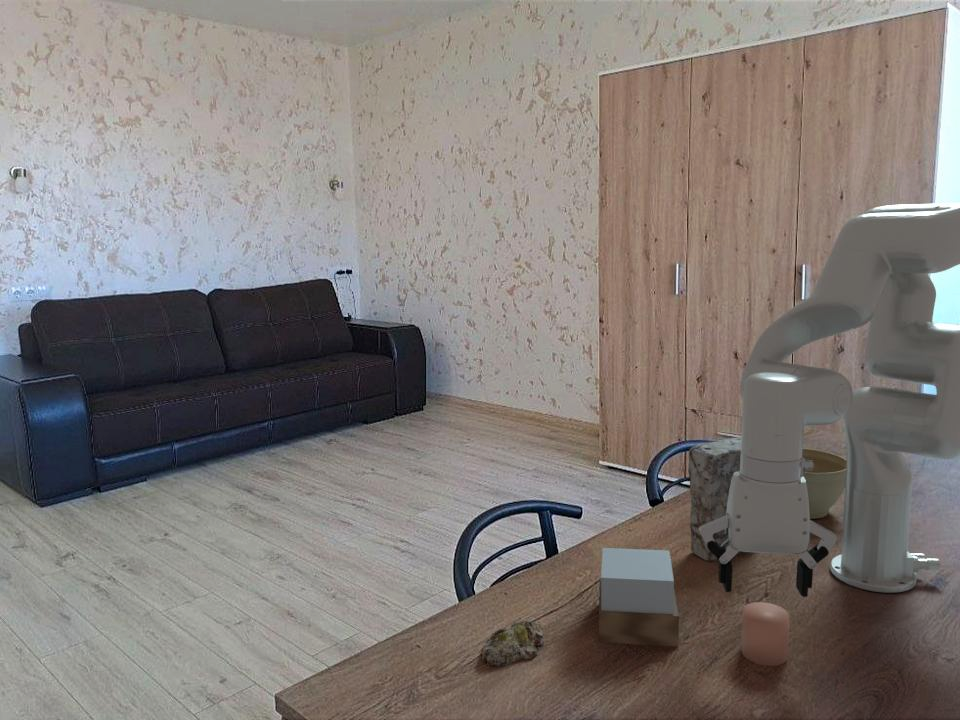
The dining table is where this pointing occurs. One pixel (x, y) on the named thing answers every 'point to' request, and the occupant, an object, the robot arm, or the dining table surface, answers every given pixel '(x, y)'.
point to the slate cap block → (637, 581)
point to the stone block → (711, 488)
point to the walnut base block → (638, 627)
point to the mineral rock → (513, 643)
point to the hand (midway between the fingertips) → (763, 589)
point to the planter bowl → (824, 481)
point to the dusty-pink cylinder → (765, 633)
